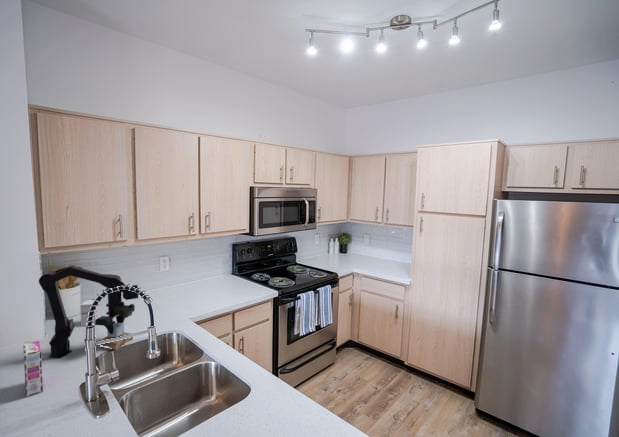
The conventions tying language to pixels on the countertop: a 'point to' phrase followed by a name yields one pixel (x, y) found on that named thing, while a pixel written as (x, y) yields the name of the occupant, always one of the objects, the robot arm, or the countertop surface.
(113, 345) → the walnut block
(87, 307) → the supplement box
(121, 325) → the slate cube
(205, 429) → the countertop surface
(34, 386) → the candy bar box
